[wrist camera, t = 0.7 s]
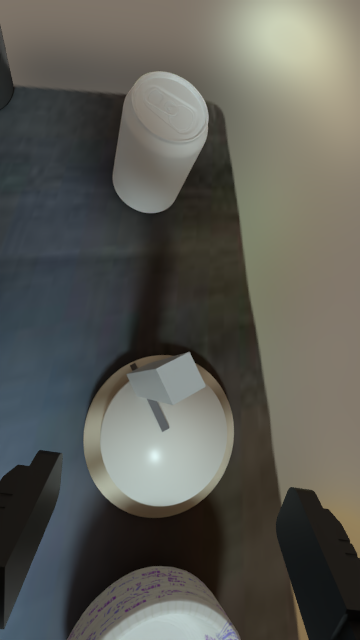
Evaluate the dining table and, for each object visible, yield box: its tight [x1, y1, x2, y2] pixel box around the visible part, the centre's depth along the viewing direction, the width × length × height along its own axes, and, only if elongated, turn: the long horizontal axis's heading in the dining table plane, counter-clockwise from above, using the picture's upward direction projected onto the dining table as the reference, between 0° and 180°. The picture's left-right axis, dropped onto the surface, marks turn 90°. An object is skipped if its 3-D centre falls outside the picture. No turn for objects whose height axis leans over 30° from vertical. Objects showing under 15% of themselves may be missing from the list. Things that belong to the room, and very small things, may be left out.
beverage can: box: [113, 71, 208, 213], centre depth 33 cm, size 8×8×12 cm
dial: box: [100, 352, 227, 506], centre depth 26 cm, size 14×13×14 cm
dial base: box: [83, 355, 234, 518], centre depth 33 cm, size 16×16×2 cm
